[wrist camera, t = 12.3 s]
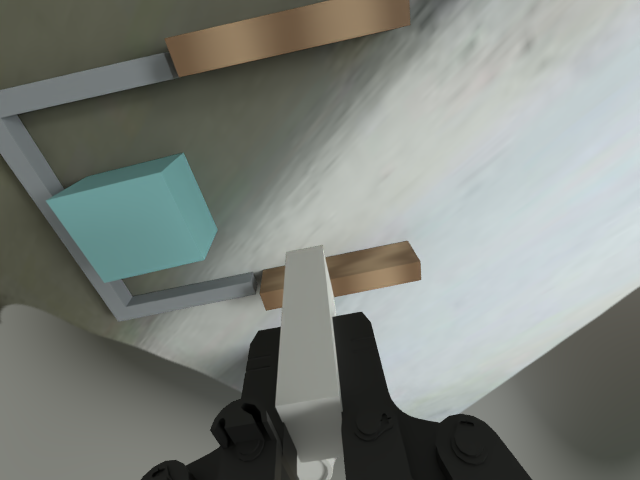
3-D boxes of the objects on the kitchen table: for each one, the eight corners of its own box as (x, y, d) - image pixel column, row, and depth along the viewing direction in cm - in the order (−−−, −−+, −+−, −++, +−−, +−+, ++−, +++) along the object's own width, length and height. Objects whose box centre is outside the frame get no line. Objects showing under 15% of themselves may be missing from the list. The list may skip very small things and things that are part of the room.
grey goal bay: (171, 52, 22) (163, 52, 20) (257, 284, 32) (255, 294, 30) (-19, 96, 22) (-38, 98, 21) (125, 310, 32) (118, 321, 31)
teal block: (184, 151, 25) (161, 172, 21) (217, 228, 29) (204, 259, 24) (87, 175, 25) (45, 200, 21) (132, 249, 29) (104, 282, 25)
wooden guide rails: (391, -8, 21) (408, -18, 18) (408, 258, 31) (421, 279, 28) (182, 40, 21) (164, 38, 18) (268, 286, 32) (266, 310, 29)
